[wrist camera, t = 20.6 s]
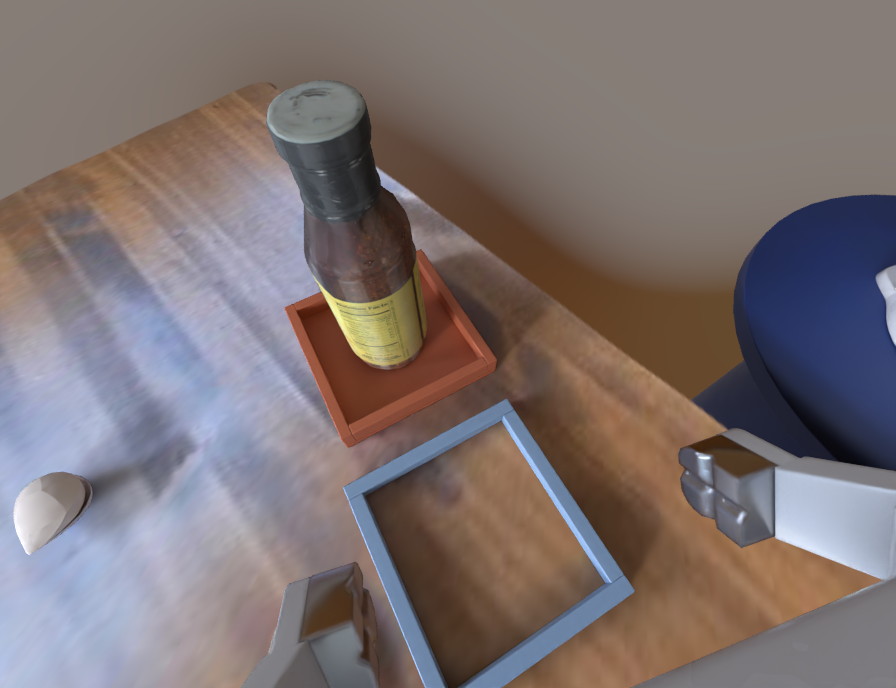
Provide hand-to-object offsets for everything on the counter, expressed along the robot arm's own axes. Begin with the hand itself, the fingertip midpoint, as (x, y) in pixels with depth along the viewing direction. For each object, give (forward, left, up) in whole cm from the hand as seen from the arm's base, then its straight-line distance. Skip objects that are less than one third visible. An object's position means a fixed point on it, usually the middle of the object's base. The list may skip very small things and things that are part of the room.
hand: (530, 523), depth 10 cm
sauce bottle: (-1, -17, -19) cm, 26 cm away
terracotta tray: (-1, -17, -19) cm, 26 cm away
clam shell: (+24, -16, -20) cm, 35 cm away
